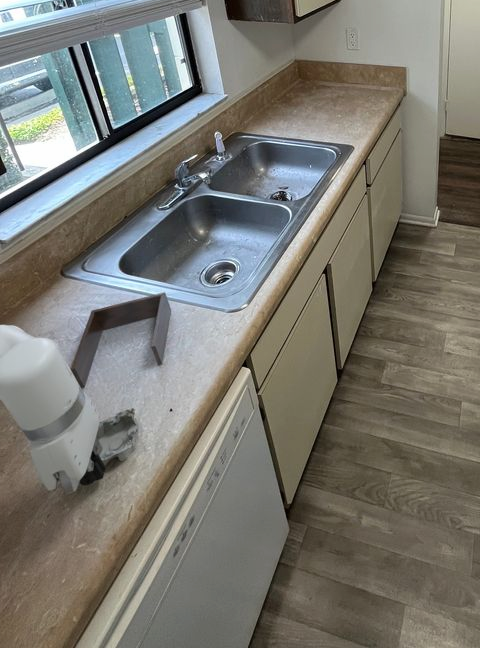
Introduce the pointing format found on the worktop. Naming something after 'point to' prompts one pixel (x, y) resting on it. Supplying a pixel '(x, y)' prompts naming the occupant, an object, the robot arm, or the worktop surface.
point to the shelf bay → (118, 317)
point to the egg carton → (117, 436)
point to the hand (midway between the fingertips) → (94, 476)
